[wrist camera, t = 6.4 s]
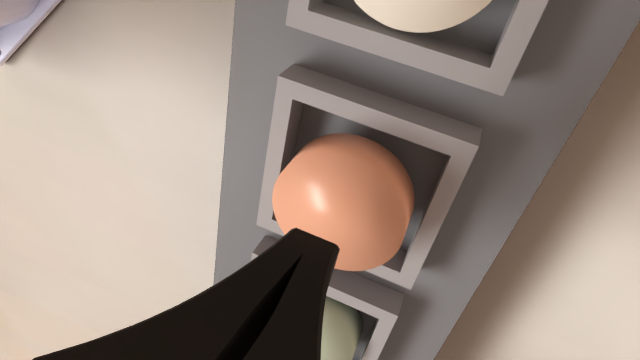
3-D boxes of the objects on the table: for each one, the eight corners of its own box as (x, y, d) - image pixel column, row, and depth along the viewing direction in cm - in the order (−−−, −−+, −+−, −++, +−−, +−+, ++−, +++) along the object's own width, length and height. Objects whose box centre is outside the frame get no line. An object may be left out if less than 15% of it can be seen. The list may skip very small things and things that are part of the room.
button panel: (411, 366, 26) (393, 438, 22) (237, 287, 28) (198, 342, 24) (769, -268, 10) (887, -343, 7) (316, -343, 12) (239, -427, 9)
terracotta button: (392, 261, 16) (382, 290, 15) (282, 215, 17) (264, 239, 16) (433, 162, 14) (424, 187, 13) (301, 114, 15) (282, 134, 13)
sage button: (349, 361, 22) (339, 388, 21) (267, 323, 23) (253, 347, 22) (373, 304, 19) (363, 332, 18) (280, 264, 20) (264, 287, 19)
